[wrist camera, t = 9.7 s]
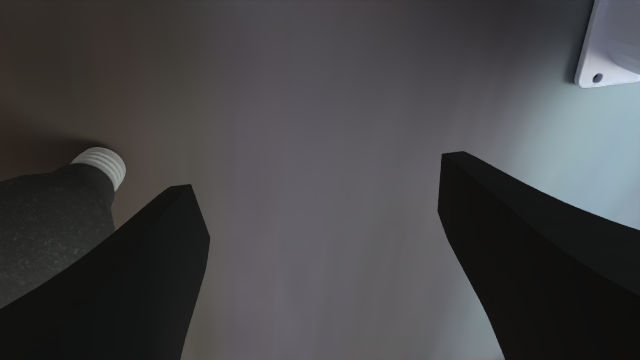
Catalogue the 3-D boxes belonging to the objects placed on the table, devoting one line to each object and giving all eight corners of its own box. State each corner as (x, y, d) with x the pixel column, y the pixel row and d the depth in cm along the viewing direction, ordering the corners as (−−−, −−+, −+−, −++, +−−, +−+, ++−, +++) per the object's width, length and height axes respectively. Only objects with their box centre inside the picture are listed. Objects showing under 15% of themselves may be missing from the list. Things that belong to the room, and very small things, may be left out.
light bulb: (73, 198, 23) (-57, 349, 15) (40, 112, 20) (-148, 240, 11) (167, 199, 23) (94, 346, 15) (149, 114, 20) (44, 239, 12)
